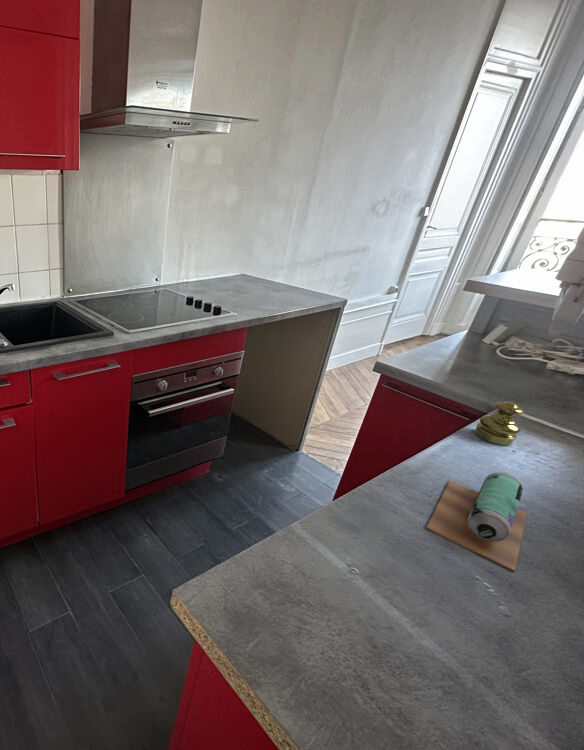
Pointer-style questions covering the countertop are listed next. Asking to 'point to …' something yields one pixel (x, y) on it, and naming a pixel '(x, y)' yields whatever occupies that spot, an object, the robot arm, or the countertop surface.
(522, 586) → the countertop surface
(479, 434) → the gold stacked rounded piece
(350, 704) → the countertop surface
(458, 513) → the wooden board
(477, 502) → the spray can
